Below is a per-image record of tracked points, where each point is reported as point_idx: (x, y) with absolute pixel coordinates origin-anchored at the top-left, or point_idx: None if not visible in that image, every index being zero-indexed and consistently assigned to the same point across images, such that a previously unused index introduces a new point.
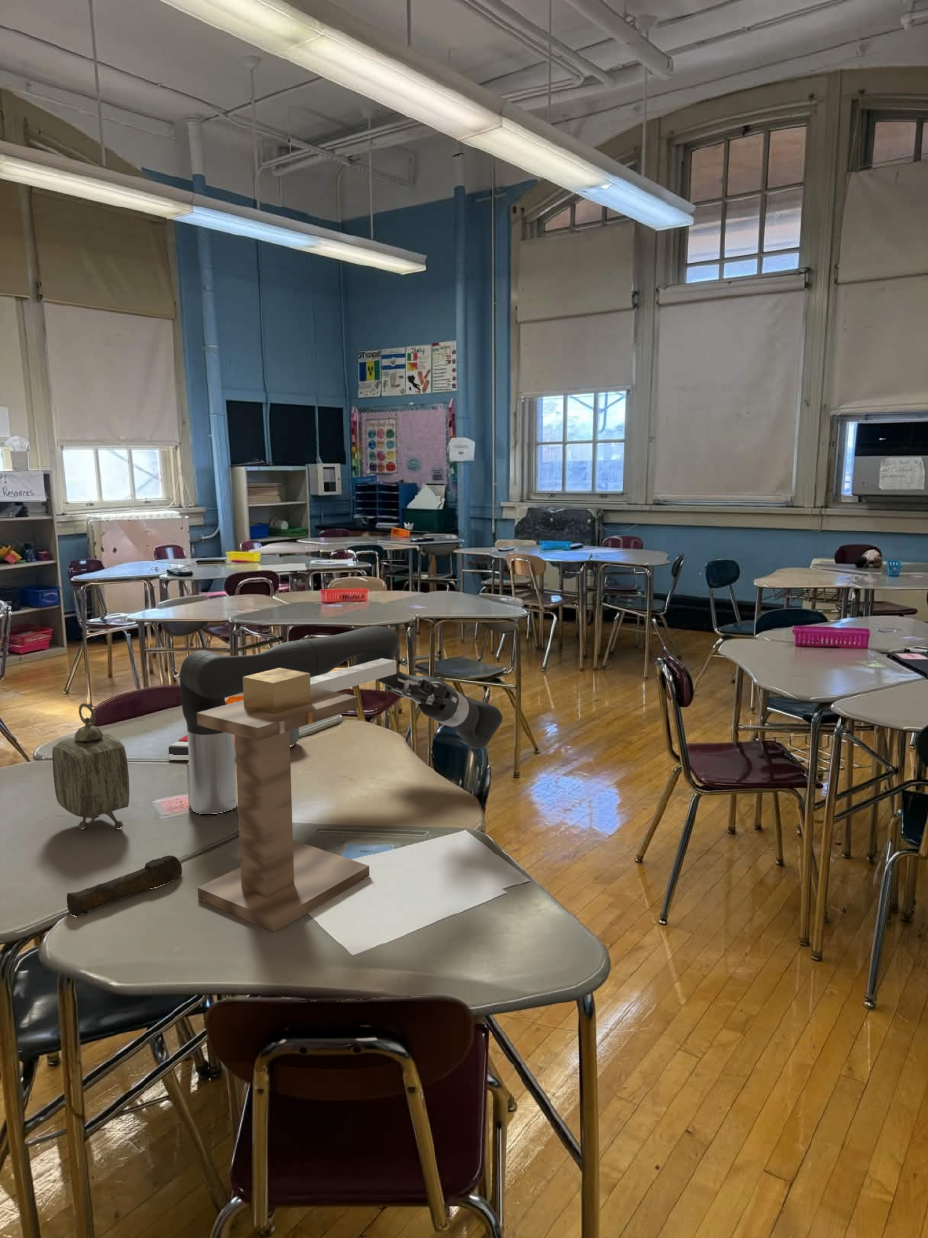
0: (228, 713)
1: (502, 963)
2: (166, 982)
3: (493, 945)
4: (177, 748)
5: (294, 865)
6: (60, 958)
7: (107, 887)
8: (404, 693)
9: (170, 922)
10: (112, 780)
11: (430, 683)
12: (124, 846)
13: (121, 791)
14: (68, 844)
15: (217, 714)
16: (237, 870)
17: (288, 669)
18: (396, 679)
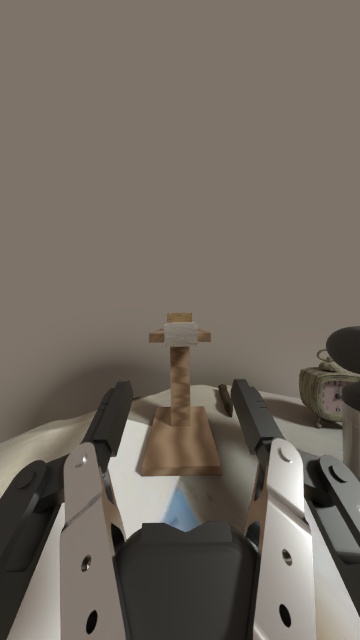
0: None
1: (36, 443)
2: (167, 390)
3: (37, 453)
4: None
5: (187, 438)
6: (200, 385)
7: (222, 390)
8: (248, 515)
9: (195, 401)
10: (307, 390)
11: (100, 423)
12: (286, 419)
13: (312, 401)
14: (299, 409)
15: None
16: (206, 420)
17: (184, 313)
18: (253, 428)
